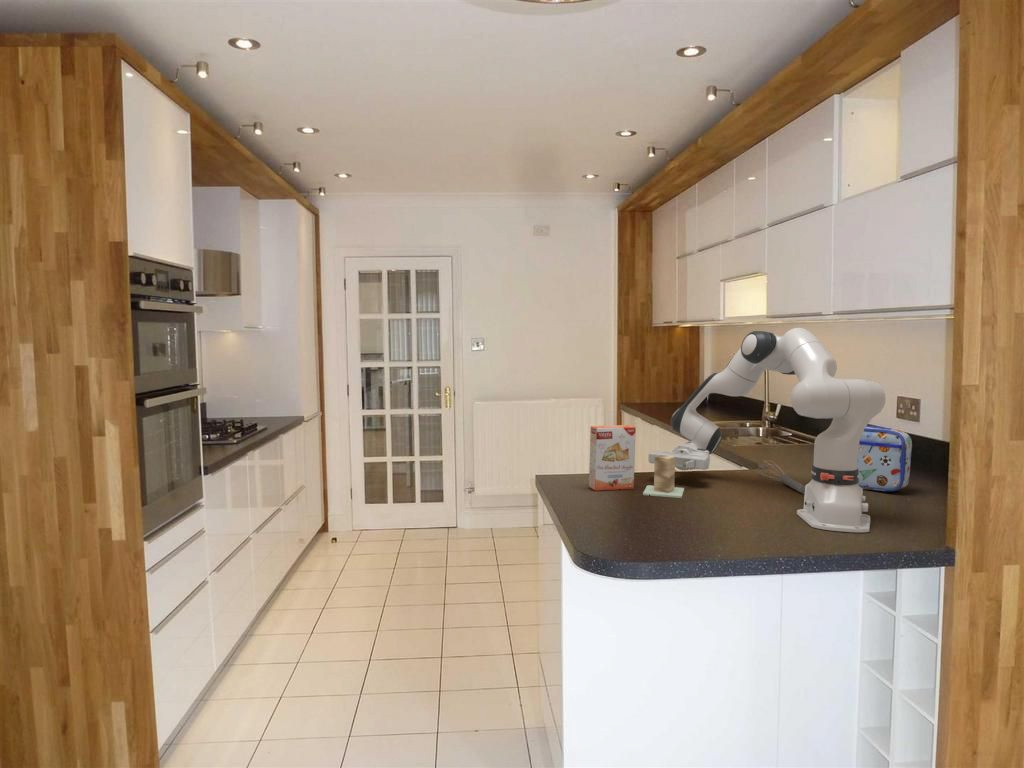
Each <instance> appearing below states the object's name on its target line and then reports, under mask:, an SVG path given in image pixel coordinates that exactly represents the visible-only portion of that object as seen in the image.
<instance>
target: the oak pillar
mask: <svg viewBox="0 0 1024 768" xmlns="http://www.w3.org/2000/svg"><path fill="white" fill-rule="evenodd" d="M675 468H676V467H675V457H674V456H665V455H659V456H657V457H655V464H654V468H653V469H654V471H653V473H654V474H653V486H654V491H658V492H665V493H670V492H672V491H673V490H674V487H675V477H676V476H675V473H676V471H675V470H676V469H675Z"/></svg>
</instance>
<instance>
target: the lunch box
mask: <svg viewBox="0 0 1024 768" xmlns="http://www.w3.org/2000/svg"><path fill="white" fill-rule="evenodd" d="M912 448H913V442H912V438H911V436H910V435H909V434H908V433H906V432H905V431H901V430H898V429H892V428H889V427H888V428H886V427H883V426H877V425H868V424H867V426H866V427H865V429H864V431H863V433H862V436H861V438H860V442H859V449H858V460H857V469H858V470H859V483H858V485H859V486H860V487H861V488H862V489H863V490H867V491H870V490H871V491H878V492H879V491H881V492H896V491H898V490H901V489H904V488H906V487H907V486H908V484H909V481H910V474H911V473H910V472H911V459H912Z"/></svg>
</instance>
